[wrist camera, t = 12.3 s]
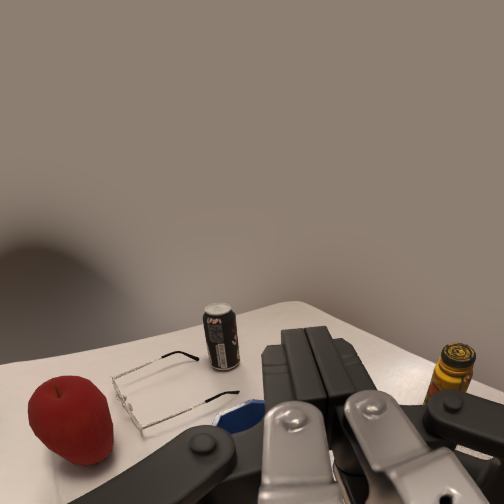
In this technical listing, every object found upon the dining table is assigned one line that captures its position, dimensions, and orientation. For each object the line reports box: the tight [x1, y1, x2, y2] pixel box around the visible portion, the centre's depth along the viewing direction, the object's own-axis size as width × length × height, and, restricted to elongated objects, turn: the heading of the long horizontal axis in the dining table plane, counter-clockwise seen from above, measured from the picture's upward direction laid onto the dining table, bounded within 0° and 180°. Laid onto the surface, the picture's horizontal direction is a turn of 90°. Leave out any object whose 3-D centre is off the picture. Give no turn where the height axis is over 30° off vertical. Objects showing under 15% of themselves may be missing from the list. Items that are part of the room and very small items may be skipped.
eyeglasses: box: [110, 351, 240, 430], centre depth 45 cm, size 16×19×5 cm
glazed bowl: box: [212, 399, 265, 504], centre depth 28 cm, size 11×11×8 cm
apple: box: [28, 376, 114, 466], centre depth 29 cm, size 12×12×13 cm
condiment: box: [423, 343, 476, 405], centre depth 32 cm, size 7×8×12 cm
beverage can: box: [203, 303, 240, 370], centre depth 53 cm, size 6×6×12 cm
